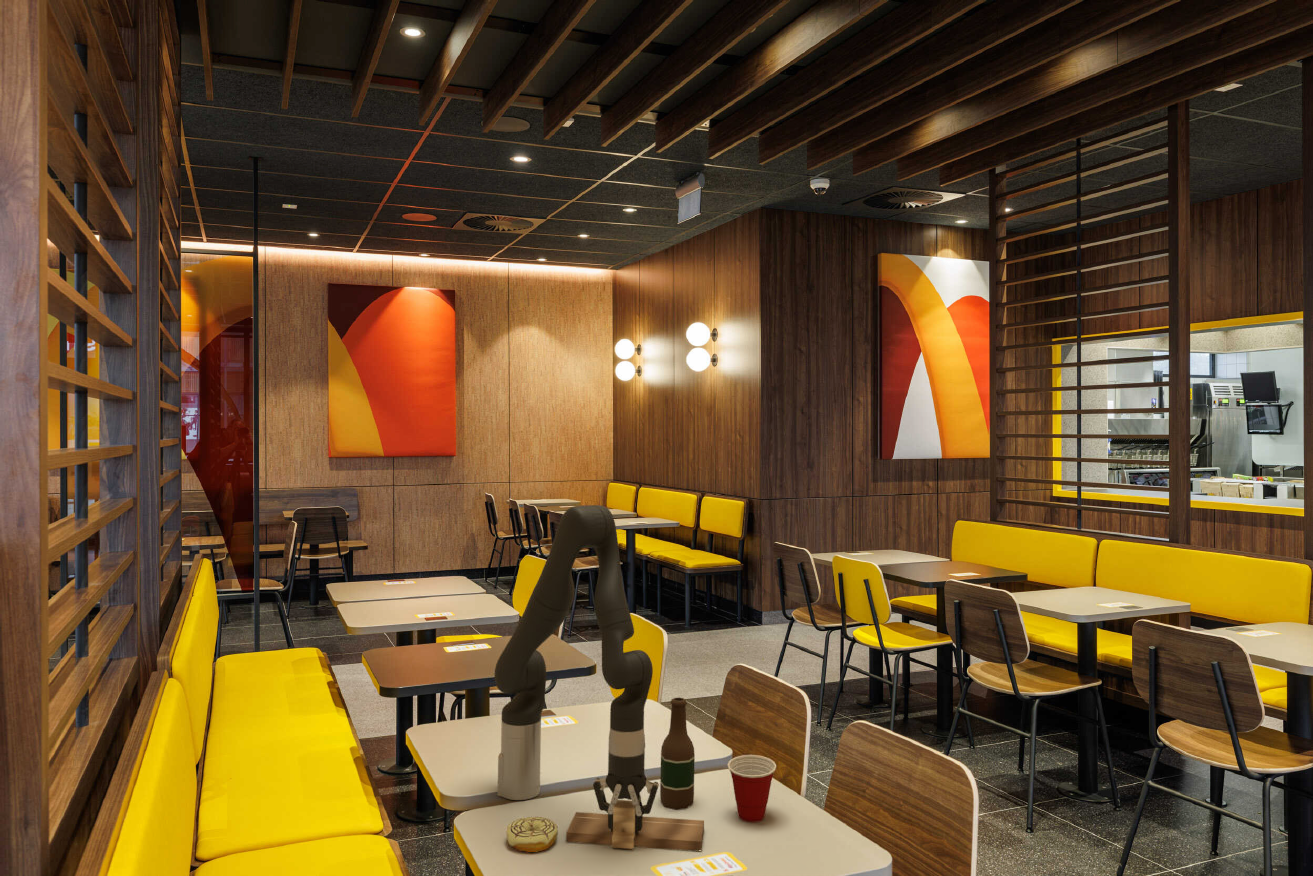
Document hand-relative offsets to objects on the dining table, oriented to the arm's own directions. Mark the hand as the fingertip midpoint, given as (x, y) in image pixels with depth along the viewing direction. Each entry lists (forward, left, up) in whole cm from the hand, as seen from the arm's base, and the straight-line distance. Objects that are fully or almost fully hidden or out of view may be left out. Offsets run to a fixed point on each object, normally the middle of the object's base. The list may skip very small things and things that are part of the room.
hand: (625, 830), depth 184 cm
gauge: (0, +2, -2) cm, 3 cm away
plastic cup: (+26, +17, -3) cm, 31 cm away
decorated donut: (-19, -2, -3) cm, 19 cm away
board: (+2, +4, -3) cm, 5 cm away
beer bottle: (+9, +22, -3) cm, 24 cm away
